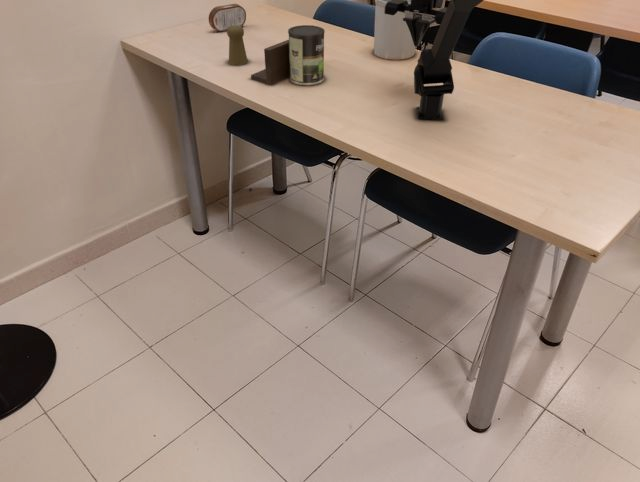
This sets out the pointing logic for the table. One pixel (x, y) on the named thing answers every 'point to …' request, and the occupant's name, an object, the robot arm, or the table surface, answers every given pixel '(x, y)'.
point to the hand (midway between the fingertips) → (416, 46)
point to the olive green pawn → (236, 46)
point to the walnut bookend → (275, 64)
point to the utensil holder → (392, 34)
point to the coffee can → (306, 54)
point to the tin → (227, 17)
